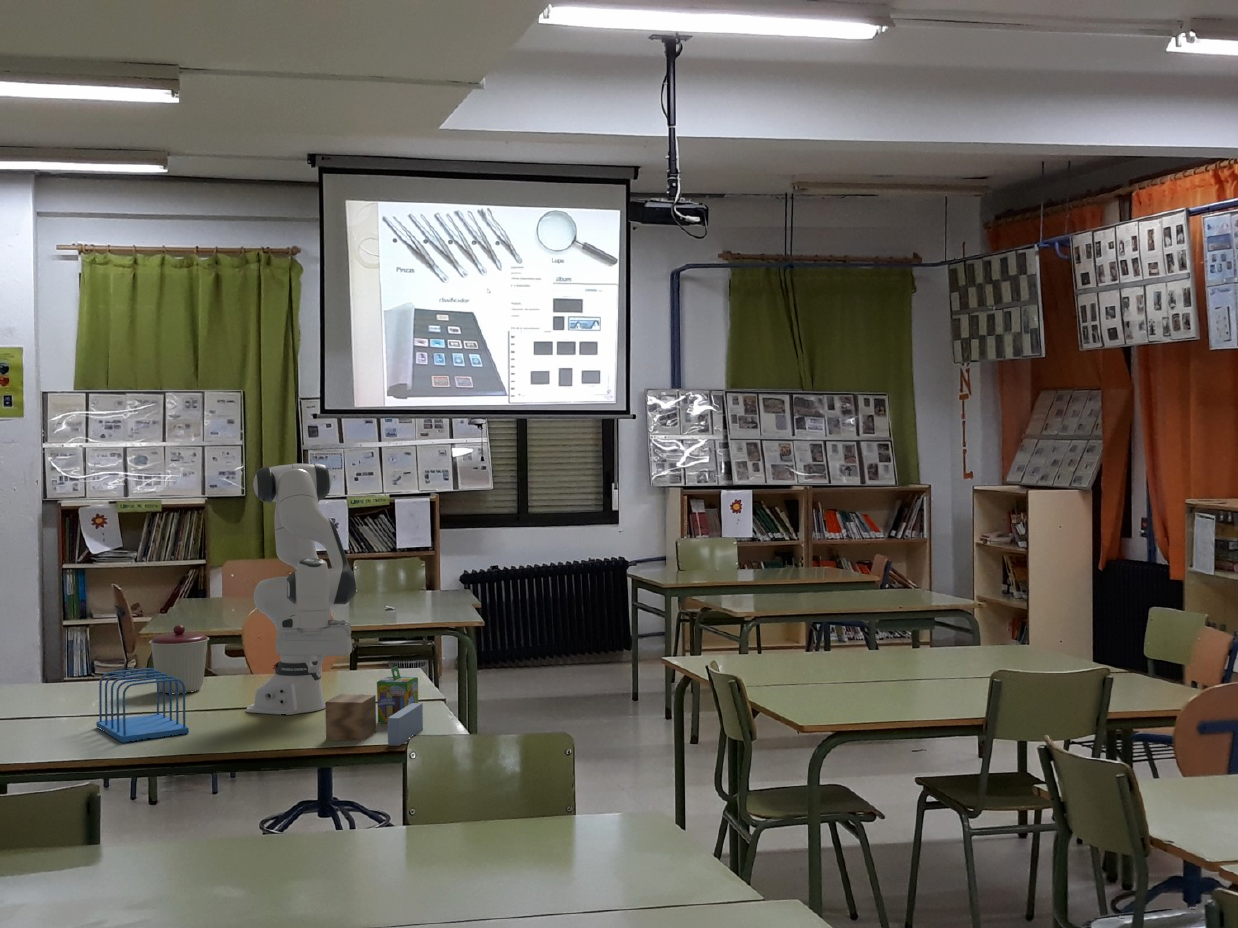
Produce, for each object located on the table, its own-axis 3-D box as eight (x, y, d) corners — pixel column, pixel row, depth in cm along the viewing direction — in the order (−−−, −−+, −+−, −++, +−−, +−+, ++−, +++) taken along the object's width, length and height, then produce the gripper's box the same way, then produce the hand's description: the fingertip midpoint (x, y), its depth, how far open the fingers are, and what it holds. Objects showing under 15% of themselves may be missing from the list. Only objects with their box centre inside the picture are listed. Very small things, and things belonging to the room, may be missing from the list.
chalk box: (408, 724, 341) (407, 670, 341) (376, 723, 343) (375, 669, 343) (420, 717, 350) (419, 664, 350) (389, 716, 352) (388, 663, 352)
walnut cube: (326, 740, 324) (325, 701, 324) (340, 731, 334) (339, 694, 334) (362, 740, 322) (362, 702, 322) (376, 732, 332) (375, 694, 332)
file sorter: (189, 734, 333) (188, 677, 333) (121, 744, 322) (120, 685, 322) (160, 719, 353) (159, 665, 353) (96, 728, 342) (94, 672, 342)
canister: (167, 685, 404) (166, 621, 404) (220, 686, 402) (219, 621, 401) (138, 696, 386) (137, 628, 386) (193, 697, 384) (192, 629, 383)
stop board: (388, 745, 317) (387, 717, 316) (412, 728, 335) (411, 702, 335) (399, 745, 316) (398, 718, 316) (422, 728, 335) (422, 703, 335)
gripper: (355, 618, 331) (356, 670, 331) (282, 618, 334) (283, 670, 334) (346, 621, 325) (347, 674, 324) (272, 621, 328) (273, 674, 328)
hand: (314, 672), depth 329 cm, fingers closed
